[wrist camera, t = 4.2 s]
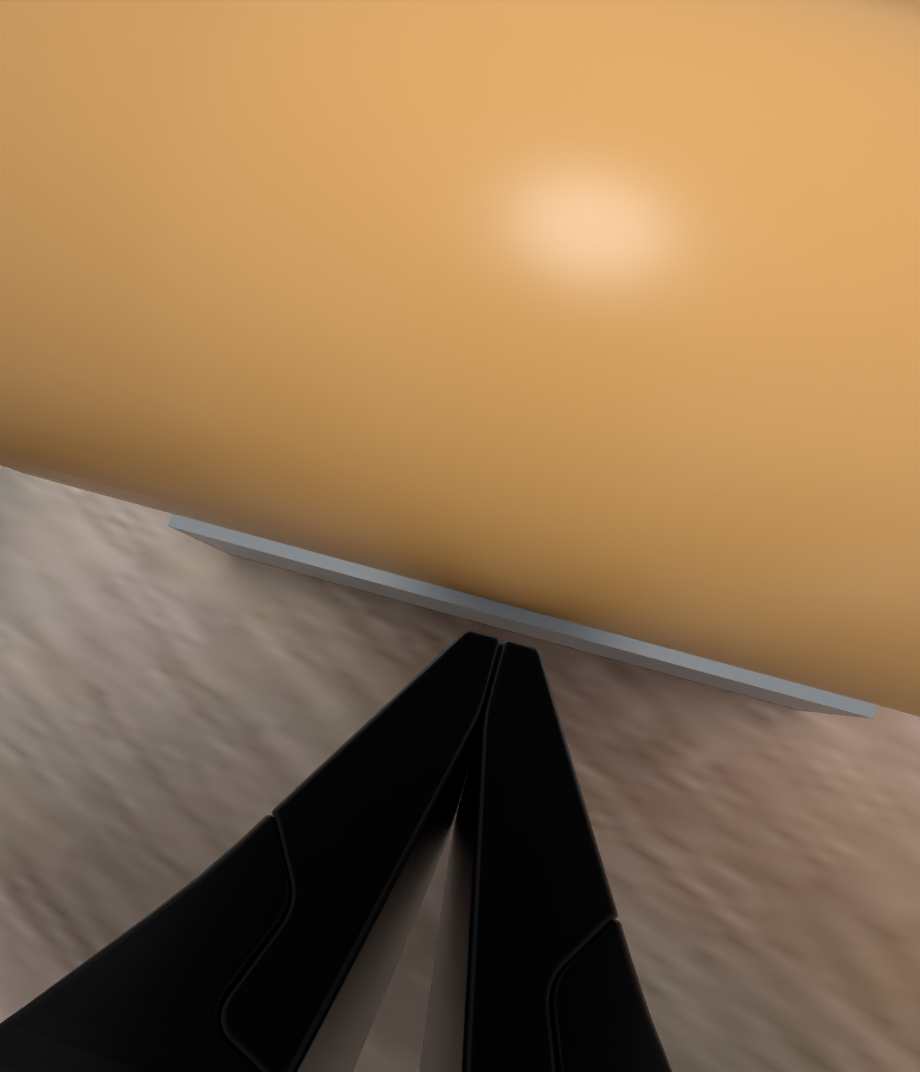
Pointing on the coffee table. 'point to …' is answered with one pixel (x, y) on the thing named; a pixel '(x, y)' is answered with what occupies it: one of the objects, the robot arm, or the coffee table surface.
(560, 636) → the block
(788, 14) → the lever
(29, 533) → the coffee table surface
